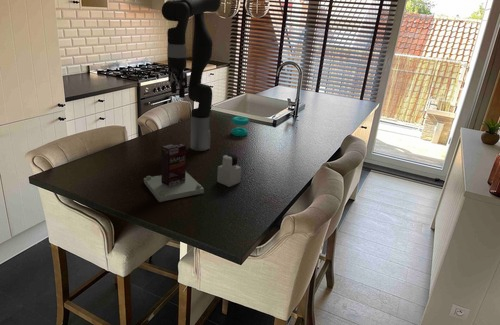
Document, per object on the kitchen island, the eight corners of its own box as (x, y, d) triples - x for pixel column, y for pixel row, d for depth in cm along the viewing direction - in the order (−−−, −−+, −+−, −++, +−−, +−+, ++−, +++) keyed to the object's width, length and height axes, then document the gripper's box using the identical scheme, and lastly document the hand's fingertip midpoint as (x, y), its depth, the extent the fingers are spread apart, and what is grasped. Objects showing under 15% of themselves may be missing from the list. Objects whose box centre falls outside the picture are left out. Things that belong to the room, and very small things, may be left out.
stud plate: (185, 175, 156) (185, 169, 155) (203, 193, 143) (204, 186, 141) (144, 182, 147) (143, 175, 146) (159, 202, 133) (159, 194, 132)
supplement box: (168, 188, 139) (168, 149, 134) (161, 184, 142) (160, 146, 136) (186, 182, 146) (186, 145, 140) (178, 178, 148) (178, 141, 143)
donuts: (232, 115, 217) (249, 116, 217) (231, 131, 221) (248, 132, 221) (231, 119, 208) (248, 121, 208) (230, 136, 212) (247, 137, 212)
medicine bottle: (228, 177, 158) (229, 151, 154) (240, 182, 154) (242, 156, 150) (216, 181, 153) (218, 155, 149) (229, 187, 149) (230, 160, 145)
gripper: (192, 58, 143) (193, 98, 149) (178, 53, 154) (179, 91, 160) (174, 58, 139) (175, 100, 146) (161, 53, 150) (163, 92, 156)
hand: (177, 95), depth 153 cm, fingers open, 8 cm apart
